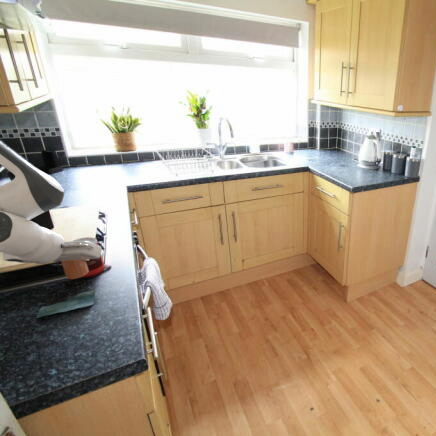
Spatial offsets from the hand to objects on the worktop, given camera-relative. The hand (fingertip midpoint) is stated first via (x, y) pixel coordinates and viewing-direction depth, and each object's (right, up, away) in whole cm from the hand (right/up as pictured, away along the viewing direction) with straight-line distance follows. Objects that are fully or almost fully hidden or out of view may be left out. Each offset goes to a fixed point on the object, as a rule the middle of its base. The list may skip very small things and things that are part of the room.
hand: (74, 259), depth 96 cm
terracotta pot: (0, -5, +1) cm, 5 cm away
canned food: (-3, -6, +11) cm, 12 cm away
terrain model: (+3, -13, -6) cm, 15 cm away
